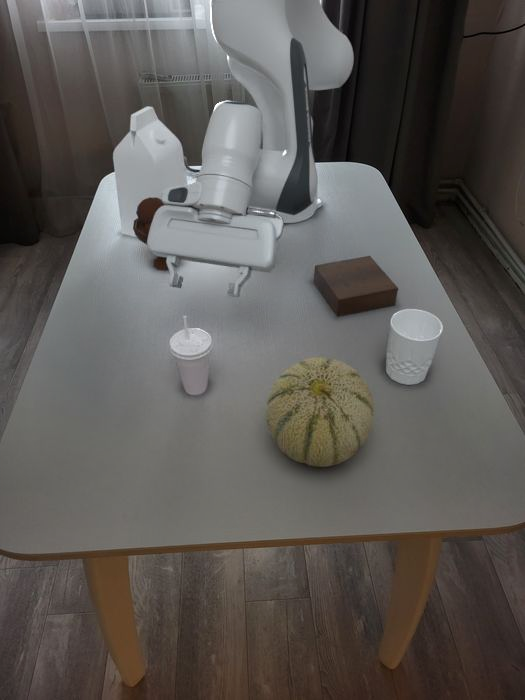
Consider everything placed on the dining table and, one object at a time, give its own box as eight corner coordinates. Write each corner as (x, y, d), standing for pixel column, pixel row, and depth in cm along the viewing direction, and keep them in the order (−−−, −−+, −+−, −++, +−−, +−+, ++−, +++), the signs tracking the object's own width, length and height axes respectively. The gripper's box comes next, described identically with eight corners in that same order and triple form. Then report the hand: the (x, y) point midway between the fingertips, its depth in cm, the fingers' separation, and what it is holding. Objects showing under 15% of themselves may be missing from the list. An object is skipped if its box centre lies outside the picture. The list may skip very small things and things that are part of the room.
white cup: (372, 362, 94) (381, 315, 87) (412, 350, 96) (423, 304, 89) (398, 393, 88) (409, 345, 82) (439, 380, 90) (453, 332, 84)
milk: (151, 211, 135) (135, 98, 118) (192, 220, 131) (182, 106, 114) (122, 233, 127) (100, 116, 110) (165, 244, 123) (149, 124, 106)
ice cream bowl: (183, 280, 112) (175, 212, 103) (131, 274, 114) (119, 206, 104) (198, 253, 120) (192, 187, 110) (149, 247, 122) (139, 182, 112)
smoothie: (191, 368, 93) (183, 300, 84) (223, 381, 90) (218, 313, 81) (167, 392, 89) (156, 323, 79) (200, 406, 86) (193, 337, 77)
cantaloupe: (339, 398, 88) (349, 323, 78) (386, 469, 77) (404, 394, 67) (251, 422, 84) (249, 347, 74) (287, 501, 73) (291, 426, 63)
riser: (313, 282, 112) (314, 265, 109) (367, 272, 115) (369, 255, 112) (337, 317, 103) (339, 299, 101) (395, 305, 106) (398, 288, 103)
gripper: (289, 219, 87) (272, 305, 86) (167, 203, 91) (150, 286, 90) (283, 205, 81) (265, 298, 80) (152, 189, 85) (135, 277, 84)
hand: (203, 291), depth 85 cm, fingers open, 8 cm apart
